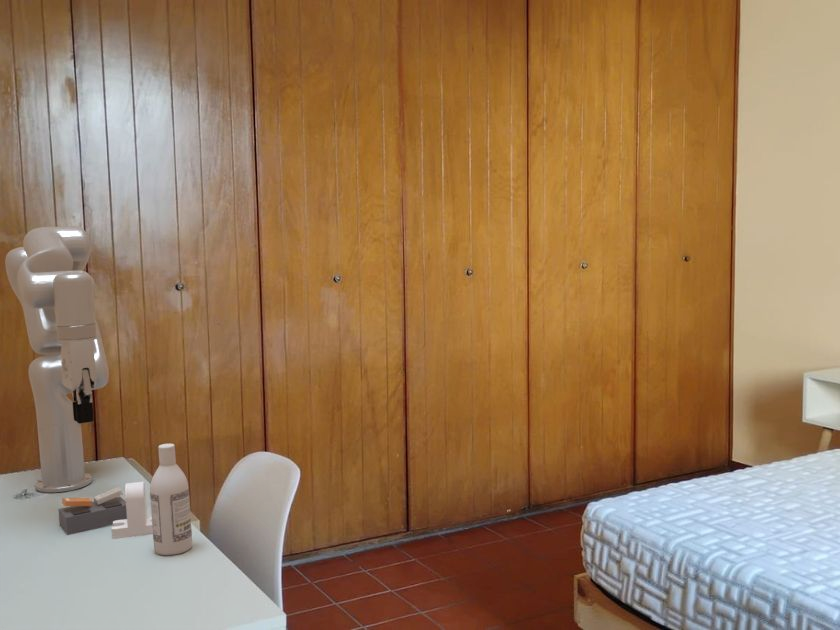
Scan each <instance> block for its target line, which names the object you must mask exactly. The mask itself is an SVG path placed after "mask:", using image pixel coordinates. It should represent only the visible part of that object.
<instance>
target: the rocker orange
mask: <svg viewBox="0 0 840 630" xmlns="http://www.w3.org/2000/svg"><path fill="white" fill-rule="evenodd" d="M92 502H93V500H92V499H91V498H89V497H62V500H61V504H62V505H63V506H64V507H70V506H92Z"/></svg>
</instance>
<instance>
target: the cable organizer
mask: <svg viewBox="0 0 840 630" xmlns="http://www.w3.org/2000/svg"><path fill="white" fill-rule="evenodd" d="M124 489H125V490H124V494H125V495H124V496H125V501H126V512H127V519H124V520H116V521H113V525H112V526H111V537H112V539H113V540H114V539H115V540H116V539H117V540H118V539H123V538H133V537H139V536H147V535H153V528H152V516H148V514H147V513H148V511H147V501H146V487H145V481H140V482H139V481H137V482H126V483H125V488H124Z"/></svg>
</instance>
